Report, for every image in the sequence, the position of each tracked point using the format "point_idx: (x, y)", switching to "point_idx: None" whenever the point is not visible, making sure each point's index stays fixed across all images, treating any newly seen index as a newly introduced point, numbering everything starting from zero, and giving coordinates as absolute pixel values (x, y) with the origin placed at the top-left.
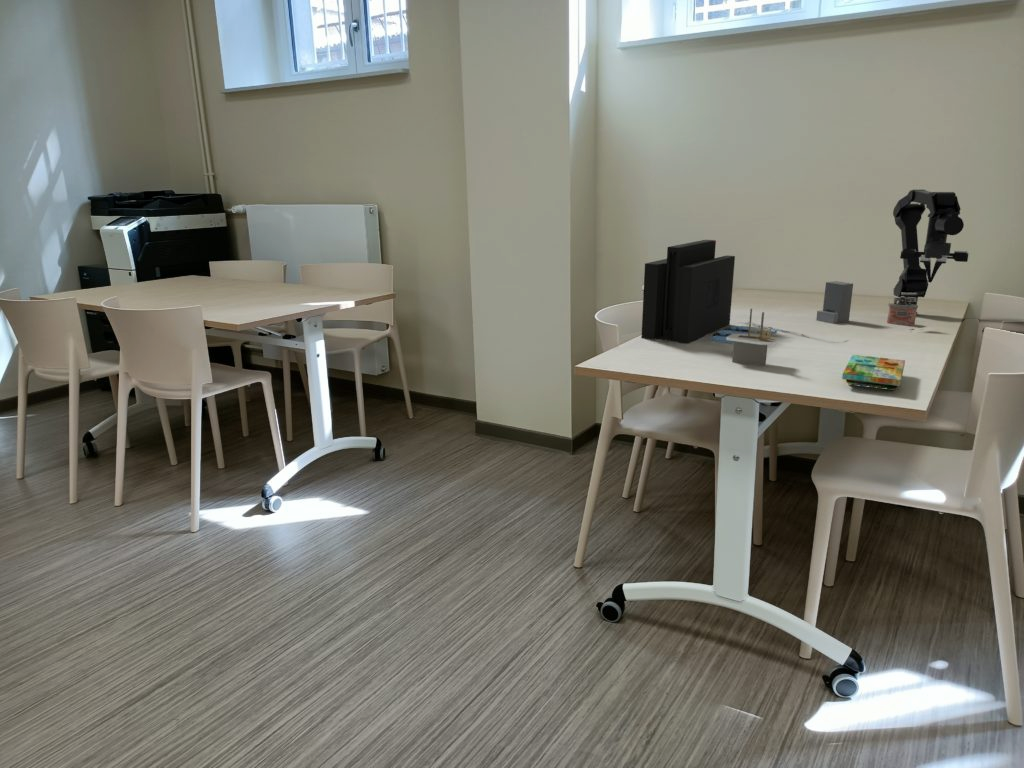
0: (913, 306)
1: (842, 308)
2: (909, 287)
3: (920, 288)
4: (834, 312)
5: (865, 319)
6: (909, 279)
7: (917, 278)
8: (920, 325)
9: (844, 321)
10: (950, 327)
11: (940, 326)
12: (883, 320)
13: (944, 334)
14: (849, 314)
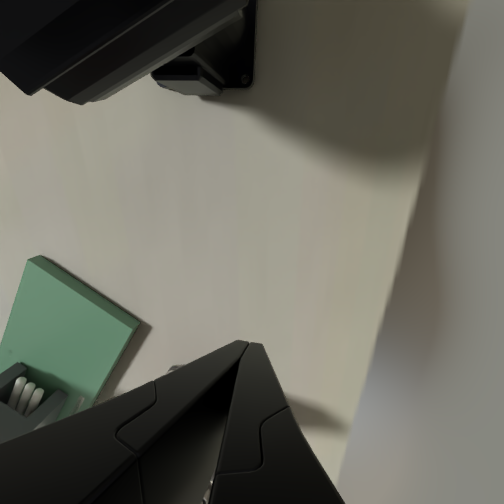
0: (212, 478)
1: None
2: (114, 89)
3: (202, 39)
4: (5, 388)
5: (89, 265)
6: (43, 83)
7: (101, 12)
8: (269, 313)
9: (61, 408)
10: (379, 316)
11: (342, 308)
12: (143, 260)
13: (336, 437)
14: (49, 413)
